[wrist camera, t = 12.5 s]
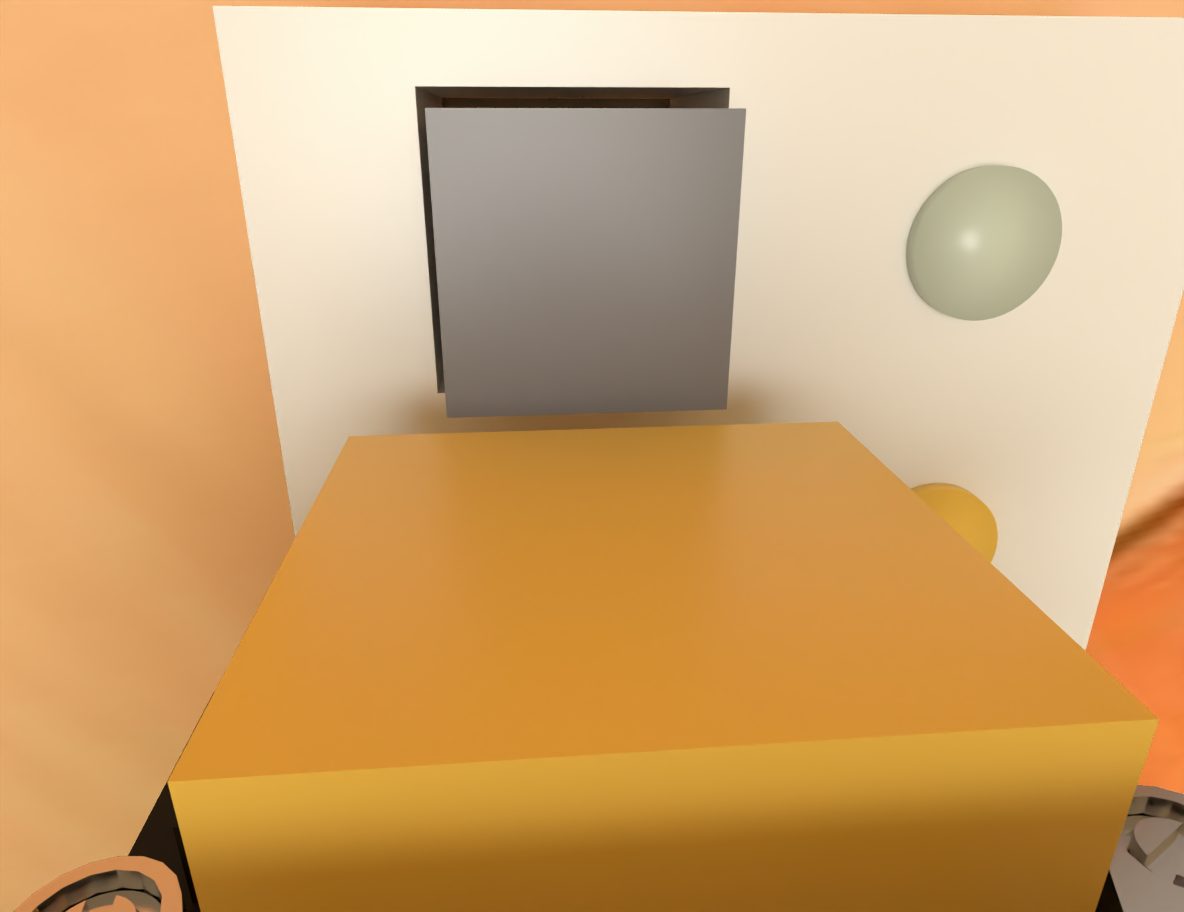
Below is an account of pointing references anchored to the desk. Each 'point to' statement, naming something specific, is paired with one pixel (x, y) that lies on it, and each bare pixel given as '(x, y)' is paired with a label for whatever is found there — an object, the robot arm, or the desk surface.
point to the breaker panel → (770, 238)
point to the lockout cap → (650, 693)
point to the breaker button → (585, 257)
